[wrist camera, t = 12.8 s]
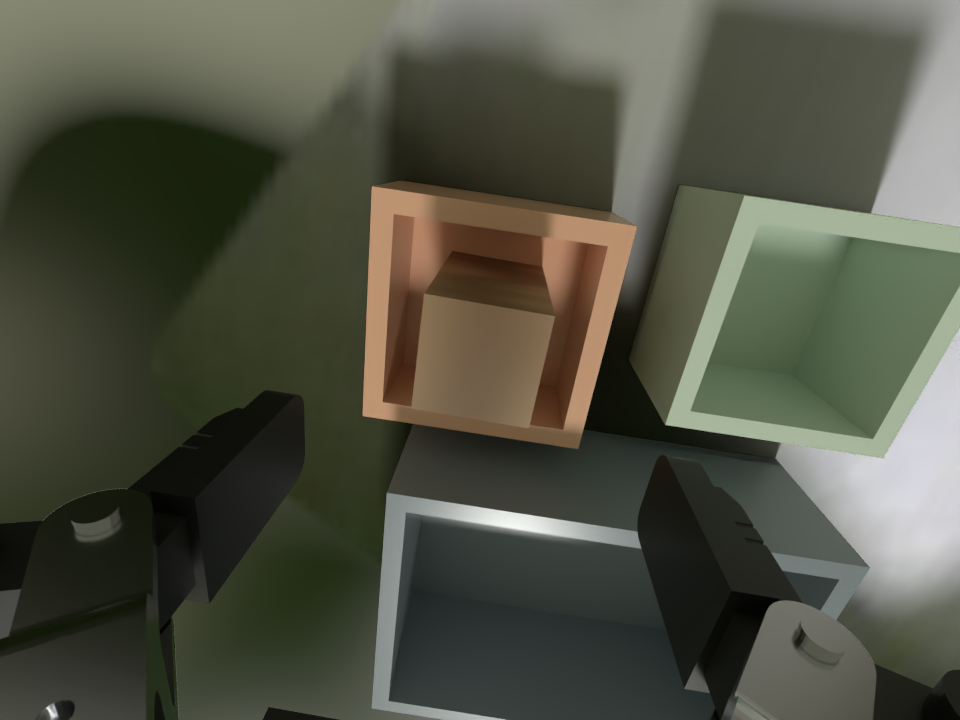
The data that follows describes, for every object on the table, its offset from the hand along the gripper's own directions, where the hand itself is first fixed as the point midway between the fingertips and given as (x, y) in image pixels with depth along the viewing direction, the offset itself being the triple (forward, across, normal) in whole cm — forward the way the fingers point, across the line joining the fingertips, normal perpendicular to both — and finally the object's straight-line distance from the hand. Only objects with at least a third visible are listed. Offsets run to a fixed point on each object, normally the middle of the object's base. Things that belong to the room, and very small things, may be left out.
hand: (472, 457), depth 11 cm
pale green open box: (+13, -11, -2) cm, 17 cm away
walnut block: (+12, 0, 0) cm, 12 cm away
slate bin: (+13, -6, +13) cm, 19 cm away
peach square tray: (+12, 0, 0) cm, 12 cm away
